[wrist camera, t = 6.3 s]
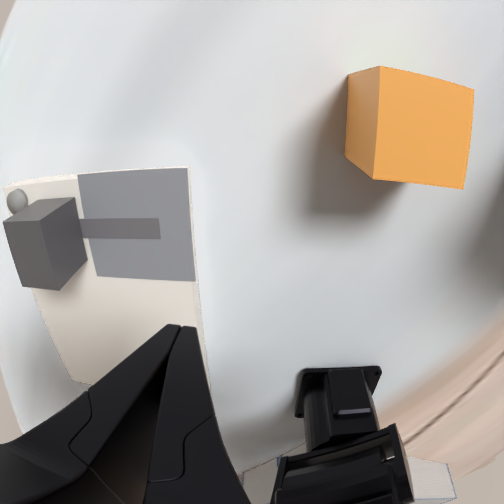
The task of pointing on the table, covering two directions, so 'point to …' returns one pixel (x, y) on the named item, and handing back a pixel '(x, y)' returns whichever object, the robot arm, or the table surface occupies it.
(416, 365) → the table surface
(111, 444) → the robot arm
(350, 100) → the cap
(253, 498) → the warehouse
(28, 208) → the block
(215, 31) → the table surface
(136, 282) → the board
